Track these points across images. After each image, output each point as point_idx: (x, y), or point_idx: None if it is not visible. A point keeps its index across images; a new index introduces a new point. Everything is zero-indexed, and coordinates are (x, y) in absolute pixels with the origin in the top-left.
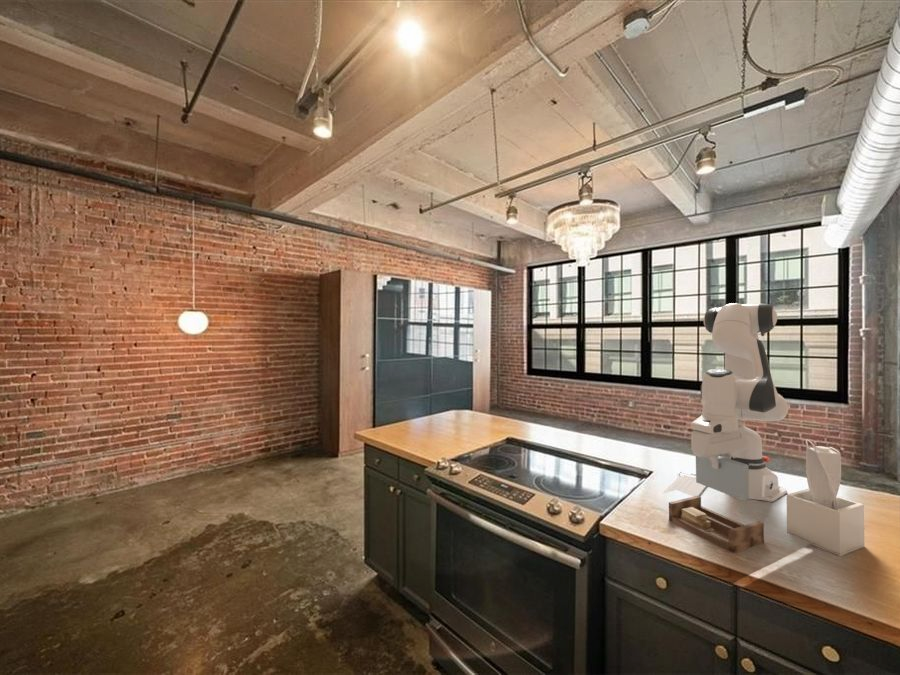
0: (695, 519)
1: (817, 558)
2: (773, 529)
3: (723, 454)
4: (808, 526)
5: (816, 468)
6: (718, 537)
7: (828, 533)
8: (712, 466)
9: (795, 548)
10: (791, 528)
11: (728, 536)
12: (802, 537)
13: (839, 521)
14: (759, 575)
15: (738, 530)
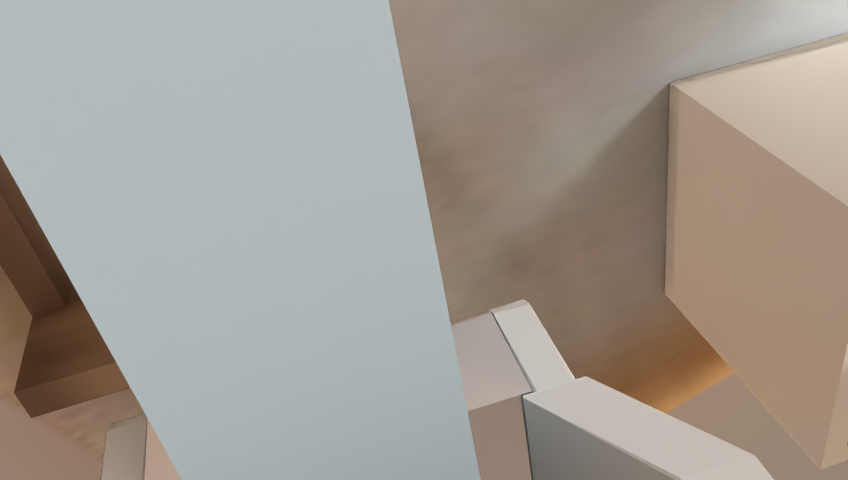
0: None
1: (542, 305)
2: (657, 13)
3: (645, 468)
4: (725, 238)
5: None
6: (20, 231)
7: (723, 317)
8: (113, 442)
9: (538, 223)
10: (697, 126)
11: (22, 360)
12: (677, 166)
13: (781, 422)
14: (92, 423)
15: (104, 394)
